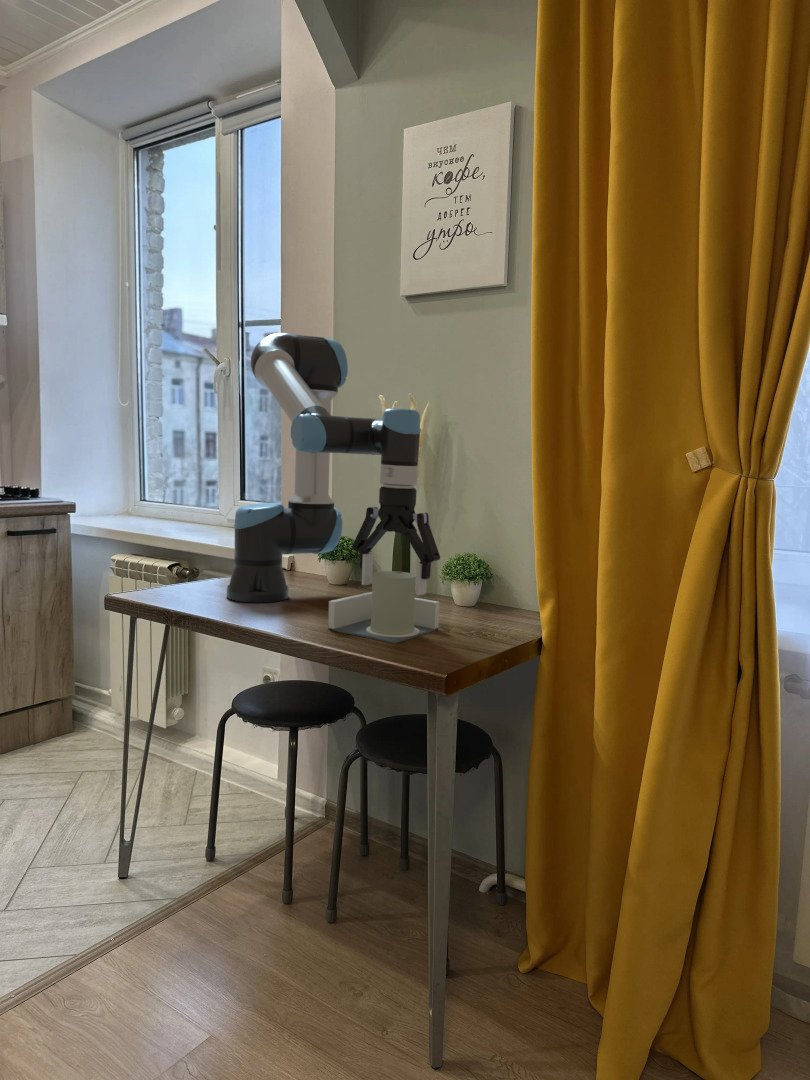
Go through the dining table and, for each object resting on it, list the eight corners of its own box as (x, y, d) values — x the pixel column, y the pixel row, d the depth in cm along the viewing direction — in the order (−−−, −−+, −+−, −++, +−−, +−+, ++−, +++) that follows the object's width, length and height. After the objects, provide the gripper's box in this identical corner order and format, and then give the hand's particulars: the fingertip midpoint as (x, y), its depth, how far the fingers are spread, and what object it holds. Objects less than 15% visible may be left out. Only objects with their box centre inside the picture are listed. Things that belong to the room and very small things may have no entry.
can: (419, 627, 156) (421, 571, 155) (407, 636, 147) (409, 577, 146) (378, 622, 159) (380, 567, 158) (363, 632, 150) (365, 573, 149)
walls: (328, 629, 154) (328, 601, 153) (373, 617, 167) (374, 591, 166) (395, 643, 144) (396, 613, 144) (438, 629, 158) (439, 601, 157)
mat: (328, 629, 154) (328, 626, 154) (373, 617, 167) (374, 614, 167) (395, 643, 144) (395, 640, 144) (438, 629, 158) (438, 626, 157)
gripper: (338, 482, 153) (334, 582, 156) (441, 492, 140) (434, 601, 143) (360, 481, 160) (356, 578, 162) (461, 490, 146) (454, 596, 149)
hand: (393, 589), depth 153 cm, fingers open, 13 cm apart
